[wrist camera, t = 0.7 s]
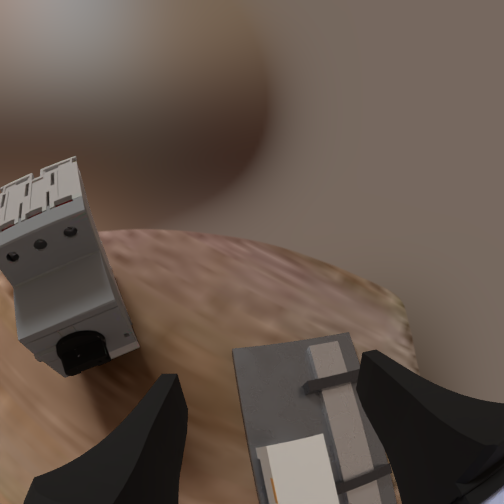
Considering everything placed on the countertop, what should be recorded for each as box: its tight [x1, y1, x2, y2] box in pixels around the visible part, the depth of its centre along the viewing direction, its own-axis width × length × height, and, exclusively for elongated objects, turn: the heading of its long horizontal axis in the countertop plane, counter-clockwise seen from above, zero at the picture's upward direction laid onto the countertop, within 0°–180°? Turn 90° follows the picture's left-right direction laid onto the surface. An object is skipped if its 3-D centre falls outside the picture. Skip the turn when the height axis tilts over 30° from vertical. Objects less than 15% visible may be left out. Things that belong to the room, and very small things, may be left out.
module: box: [256, 433, 339, 504], centre depth 15 cm, size 4×7×5 cm, turn 10°
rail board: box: [232, 332, 397, 504], centre depth 20 cm, size 20×12×2 cm, turn 10°
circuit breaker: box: [0, 156, 140, 377], centre depth 20 cm, size 8×14×15 cm, turn 33°
